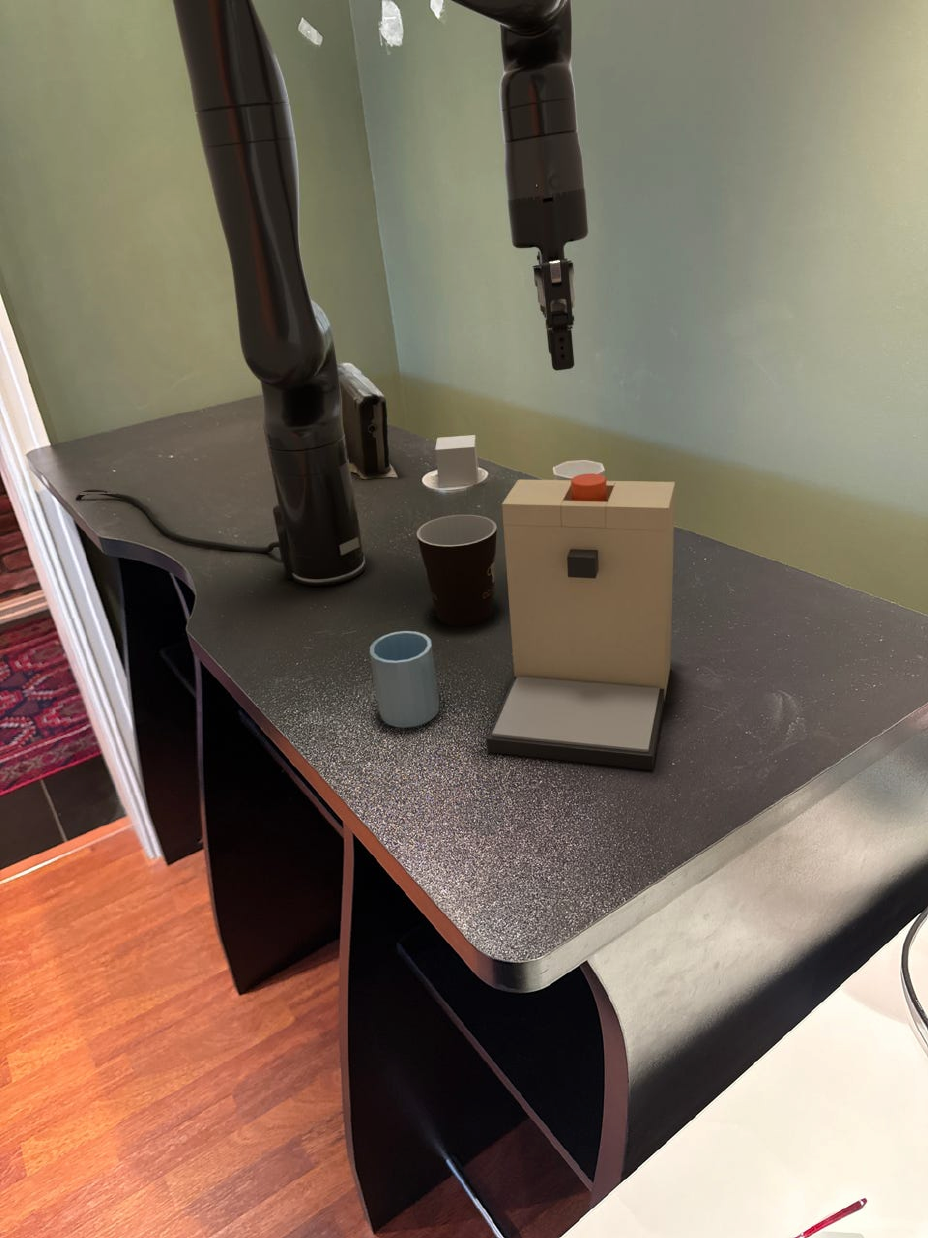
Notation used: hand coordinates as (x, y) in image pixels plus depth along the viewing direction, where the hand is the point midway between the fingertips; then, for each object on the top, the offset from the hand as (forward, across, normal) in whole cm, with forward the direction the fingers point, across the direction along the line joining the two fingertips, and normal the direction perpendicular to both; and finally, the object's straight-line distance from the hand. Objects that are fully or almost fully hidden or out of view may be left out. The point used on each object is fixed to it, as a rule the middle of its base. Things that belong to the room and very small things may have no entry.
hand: (561, 360), depth 92 cm
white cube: (+23, -39, -16) cm, 48 cm away
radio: (+22, -52, -33) cm, 66 cm away
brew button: (+8, +22, 0) cm, 23 cm away
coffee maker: (+26, +26, -2) cm, 37 cm away
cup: (+25, -16, 0) cm, 30 cm away
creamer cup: (+25, +25, -18) cm, 40 cm away
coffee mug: (+25, +4, -13) cm, 29 cm away
